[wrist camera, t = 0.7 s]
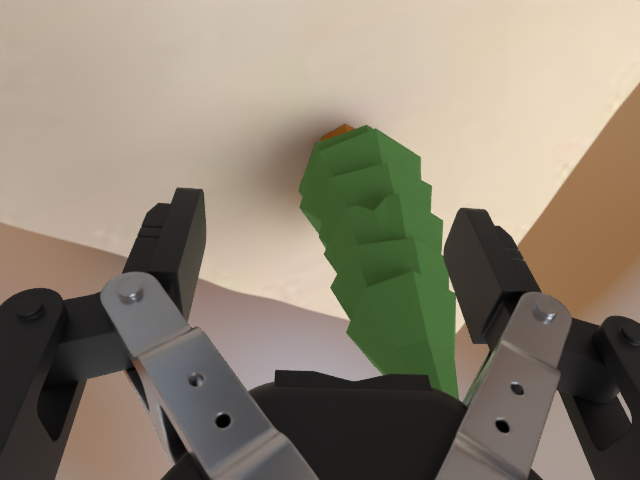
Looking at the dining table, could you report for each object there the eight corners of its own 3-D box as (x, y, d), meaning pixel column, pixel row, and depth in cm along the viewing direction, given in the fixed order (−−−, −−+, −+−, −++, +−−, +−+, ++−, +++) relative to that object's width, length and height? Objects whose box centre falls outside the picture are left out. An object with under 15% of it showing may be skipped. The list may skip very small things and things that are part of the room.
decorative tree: (274, 141, 39) (311, 476, 13) (370, 79, 37) (624, 327, 12) (331, 222, 44) (438, 584, 18) (418, 171, 42) (672, 490, 16)
